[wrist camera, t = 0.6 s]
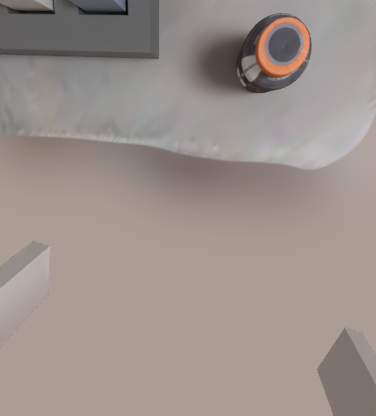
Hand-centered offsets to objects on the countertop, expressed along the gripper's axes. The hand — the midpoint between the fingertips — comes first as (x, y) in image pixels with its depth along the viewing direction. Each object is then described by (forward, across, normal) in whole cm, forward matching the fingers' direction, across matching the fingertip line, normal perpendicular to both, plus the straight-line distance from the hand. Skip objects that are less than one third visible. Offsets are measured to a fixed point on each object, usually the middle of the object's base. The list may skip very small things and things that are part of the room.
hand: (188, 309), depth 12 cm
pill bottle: (+27, +2, +13) cm, 30 cm away
